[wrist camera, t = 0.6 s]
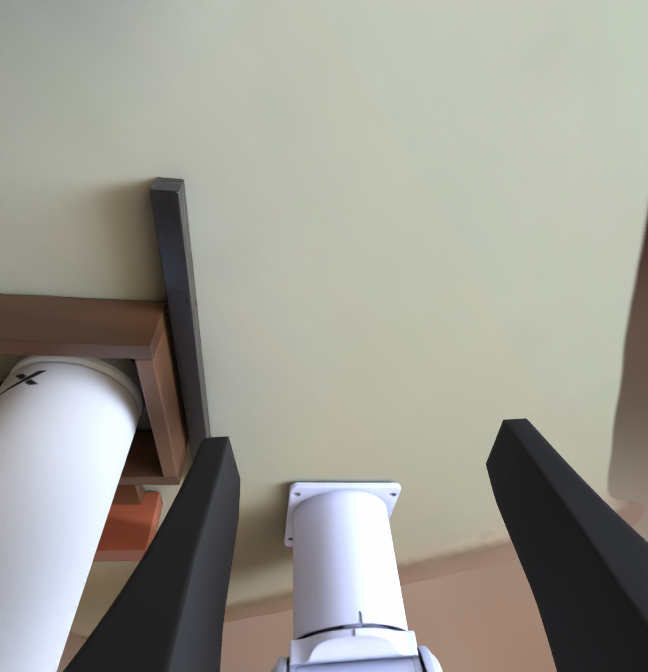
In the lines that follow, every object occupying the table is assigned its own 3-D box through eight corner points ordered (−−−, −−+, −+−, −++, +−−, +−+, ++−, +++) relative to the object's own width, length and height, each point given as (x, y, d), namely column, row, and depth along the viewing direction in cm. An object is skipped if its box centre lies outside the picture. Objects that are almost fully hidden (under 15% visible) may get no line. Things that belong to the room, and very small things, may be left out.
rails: (214, 470, 29) (211, 487, 28) (14, 469, 28) (5, 486, 27) (184, 178, 16) (177, 191, 16) (-192, 148, 15) (-223, 160, 14)
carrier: (198, 502, 32) (189, 560, 29) (52, 503, 30) (26, 563, 27) (166, 301, 20) (144, 363, 17) (-74, 289, 19) (-144, 353, 16)
